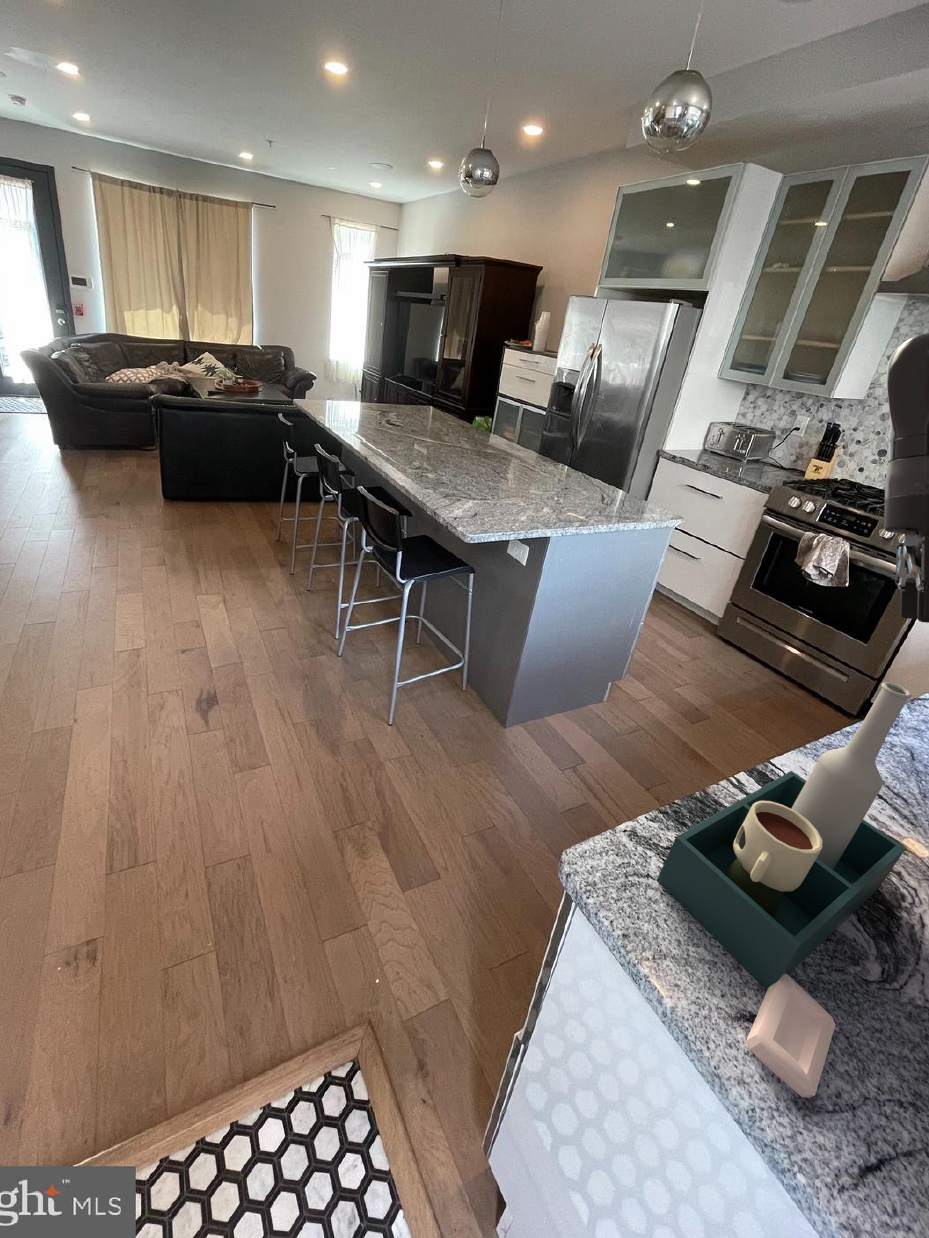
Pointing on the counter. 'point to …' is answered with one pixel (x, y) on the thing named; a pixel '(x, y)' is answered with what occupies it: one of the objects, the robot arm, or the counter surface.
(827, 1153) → the counter surface
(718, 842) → the divided storage tray
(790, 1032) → the soap bar
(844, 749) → the bottle
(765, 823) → the character mug
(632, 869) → the counter surface
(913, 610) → the robot arm
